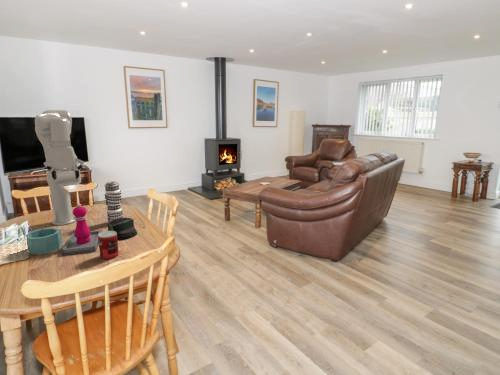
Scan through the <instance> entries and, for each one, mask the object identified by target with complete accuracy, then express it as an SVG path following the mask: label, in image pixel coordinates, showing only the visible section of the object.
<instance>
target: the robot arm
mask: <svg viewBox="0 0 500 375" xmlns="http://www.w3.org/2000/svg"><path fill="white" fill-rule="evenodd" d="M72 124H73V118H72V115H71V114H70V112H69V111H67V110H63V109H62V110H60V109H59V110H57V109H54V110H53V109H50V110H49V109H48V110H44V111H43V112H42V113H41V114H38V115H37V114H36V116H35V118H34V125H35V127H34V131H35V133H36V137H37V139H38V140H39V142H40V143H41V145H42V147H43V152H44V157H45V161H44V162H43V165H44V167H45V168H46V169H47V170H49V172H47V174H46V181H47V184H48V189H49V192H50V197H51V204H52V211H53V217H54V219H53V220H52V221H51V224H52V225H54V226H65V225H70V224H73V223H75V222H76V220H75V216H74V215H73V209H72V203H71V200H72V199H71V193H70V192H69V191H68V189H66V188H65V187H69V186H75V185H77V186H78V185H79V184H81V183H82V175H81V171H80V169H81V168H82V167H83V165H84V163H85V161H83V160H81V159H79V158H78V156H77V155H76V153H75V150H74V147H73V146H72V144H71V134H72Z"/></svg>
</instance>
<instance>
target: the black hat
mask: <svg viewBox="0 0 500 375" xmlns="http://www.w3.org/2000/svg"><path fill="white" fill-rule="evenodd" d="M134 223H135V222H134V219H133V218H131V217H126V216H125V217H124V216H123V217H122V218H118V219H117V218H116V219H115V220H111V221H110V222H109V223H107V230H106V231H115V232H116V233H117V240H118V242H119V241H126V240H129V239H132V238H134V237H136V236H137V235H138V232H137V231H138V229H136V228H135V224H134Z"/></svg>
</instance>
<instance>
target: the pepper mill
mask: <svg viewBox="0 0 500 375" xmlns="http://www.w3.org/2000/svg"><path fill="white" fill-rule="evenodd" d="M87 212H88V210H87V208H86V207H85V206H82V204H81V203H77V205H76V207H74V209H72V214H73V217H75V220H76V221H75V222H76V225H75V229H74V232H73V233H74V235H75V237H76V238H77V239H76V242H77V244H85V243H88V242H90V241H91V239H90V237H89V236H90V234H91V231H92V230H91V229H90V227H89V226H88V224H87V220H86V219H87Z"/></svg>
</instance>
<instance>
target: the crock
mask: <svg viewBox="0 0 500 375" xmlns="http://www.w3.org/2000/svg"><path fill="white" fill-rule="evenodd" d="M25 236H26V237H27V245H28V251H29V253H28V254H30V253H31V254H30V255H33V254H34V255H33V256H36V255H35V254H38V255H45V254H49V253H52V252H54V251H58V250H59V249H61V247H62V245H63V238H62V232H61V229H59V228H56V227H45V228H38V229H36V230H32V231H30V232H27V233H26V235H25Z"/></svg>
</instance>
